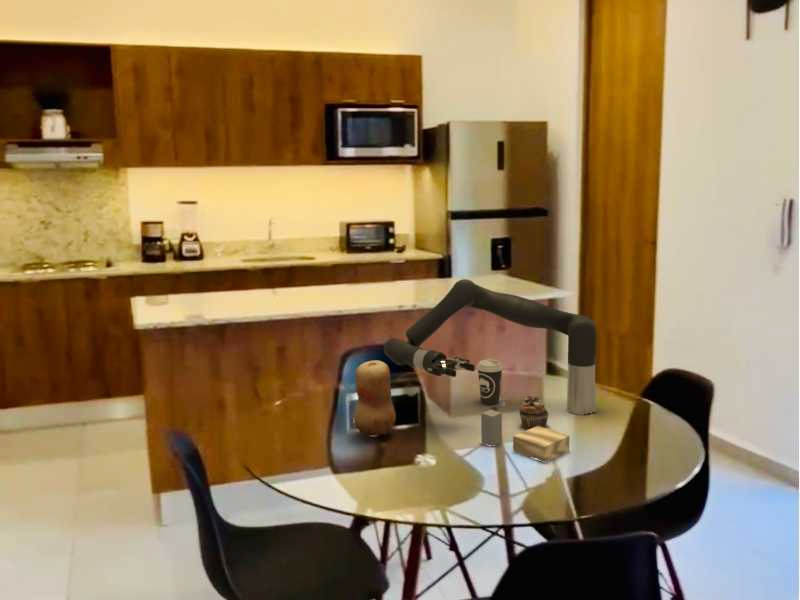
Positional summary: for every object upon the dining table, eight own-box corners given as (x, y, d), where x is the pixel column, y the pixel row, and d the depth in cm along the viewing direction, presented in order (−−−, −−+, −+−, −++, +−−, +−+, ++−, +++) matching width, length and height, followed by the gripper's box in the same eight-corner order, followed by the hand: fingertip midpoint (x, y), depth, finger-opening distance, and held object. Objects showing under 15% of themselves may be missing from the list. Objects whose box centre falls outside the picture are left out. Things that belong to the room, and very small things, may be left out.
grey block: (490, 439, 246) (490, 409, 244) (501, 443, 243) (501, 413, 241) (481, 443, 243) (481, 413, 241) (492, 447, 240) (492, 416, 238)
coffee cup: (504, 406, 275) (504, 366, 272) (477, 407, 276) (477, 366, 273) (501, 397, 285) (501, 358, 282) (475, 398, 285) (475, 359, 282)
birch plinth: (537, 440, 244) (537, 425, 243) (569, 451, 235) (569, 435, 234) (513, 451, 236) (513, 436, 235) (544, 462, 227) (544, 446, 226)
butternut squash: (346, 439, 249) (343, 365, 244) (367, 425, 261) (364, 354, 256) (384, 446, 243) (381, 370, 238) (404, 431, 254) (401, 359, 249)
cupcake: (548, 432, 251) (548, 403, 248) (518, 430, 252) (518, 401, 250) (548, 421, 260) (549, 393, 258) (519, 420, 262) (519, 392, 260)
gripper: (414, 354, 253) (449, 364, 241) (444, 346, 263) (480, 355, 251) (414, 376, 255) (449, 387, 243) (445, 367, 264) (480, 377, 252)
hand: (464, 370), depth 247 cm, fingers open, 8 cm apart
